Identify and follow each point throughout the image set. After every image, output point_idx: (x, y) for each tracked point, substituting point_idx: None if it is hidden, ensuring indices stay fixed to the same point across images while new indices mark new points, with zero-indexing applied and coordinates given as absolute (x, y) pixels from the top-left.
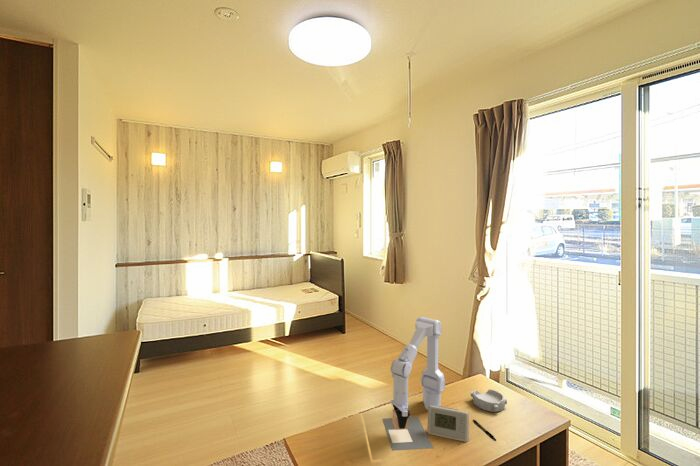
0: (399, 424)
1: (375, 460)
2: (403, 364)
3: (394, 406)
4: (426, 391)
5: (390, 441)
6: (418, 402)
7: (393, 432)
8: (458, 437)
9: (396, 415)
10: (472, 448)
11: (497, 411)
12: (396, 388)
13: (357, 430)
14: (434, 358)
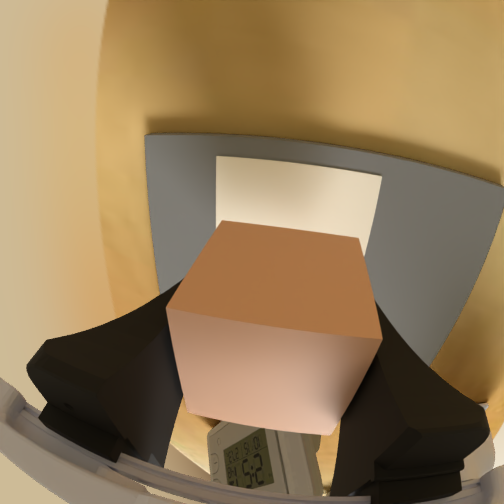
0: (176, 289)
1: (103, 27)
2: None
3: (384, 407)
4: (461, 476)
5: (237, 145)
6: (495, 395)
7: (340, 205)
8: (216, 433)
9: (216, 337)
10: (190, 425)
11: (327, 493)
12: None
13: None
14: None
